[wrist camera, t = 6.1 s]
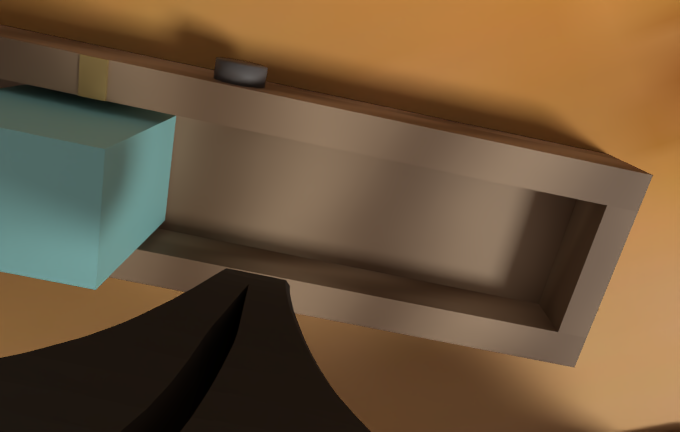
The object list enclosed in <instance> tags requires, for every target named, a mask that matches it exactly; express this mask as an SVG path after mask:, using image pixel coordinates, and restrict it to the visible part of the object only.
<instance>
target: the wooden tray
mask: <svg viewBox="0 0 680 432" xmlns="http://www.w3.org/2000/svg"><path fill="white" fill-rule="evenodd" d="M267 70H268V68H267V67H265V66H262V65H259V64H255V63H251V62H246V61H241V60H236V59H230V58H221V57H217V58H216V62H215V70H211V69H206V68H201V67H197V66H192V65H187V64H183V63H178V62H173V61H168V60H164V59H159V58H154V57H150V56H145V55H140V54H136V53H131V52H126V51H122V50H117V49H112V48H107V47H103V46H98V45H93V44H89V43H84V42H79V41H75V40H70V39H65V38H61V37H56V36H51V35H47V34H42V33H37V32H32V31H28V30H23V29H18V28H14V27H9V26H4V25H0V88H6V87H12V86H19V85H25V84H27V85H32V86H37V87H41V88H46V89H51V90H56V91H60V92H65V93H70V94H75V95H78V96H82V97H87V98H91V99H96V100H101V101H108V102H113V103H118V104H123V105H128V106H132V107H137V108H142V109H147V110H152V111H156V112H161V113H166V114H171V115H175V116H176V123H175V132H174V141H173V150H172V160H171V169H170V178H169V188H168V197H167V206H166V215H165V221H164V222H163V223H162V224H161V225H160V226H159V227H158V228H157V229H156V230H155V231H154V232H153V233H152V234H151V235H150V236H149V237H148V238H147V239H146V240H145V241H144V242H143V243H142V244H141V245H140V246H139V247H138V248H137V249H136V250H135V251H134V252H133V253H132V254H131V255H130V256H129V257H128V258H127V259H126V260H125V261H124V262H123V263H122V264H121V265H120V266H119V267H118V268H117V269H116V270H115V271H114V272H113V273H112V274H111V275H110V276H109V277H111V278H116V279H121V280H126V281H131V282H136V283H142V284H147V285H152V286H157V287H162V288H167V289H173V290H178V291H183V292H187V291H188V290H190V289H192V288H194V287H195V286H197V285H199V284H200V283H202V282H204V281H205V280H207V279H209V278H210V277H212V276H214V275H215V274H217V273H219V272H220V271H222V270H224V269H226V268H228V269H233V270H238V271H243V272H248V273H254V274H259V275H264V276H269V277H274V278H279V279H284V280H286V281H287V282H288V284H289V285H290V296H291V301H292V305H293V309H294V313H296V314H302V315H307V316H312V317H317V318H322V319H327V320H333V321H338V322H343V323H348V324H353V325H358V326H364V327H369V328H374V329H379V330H384V331H389V332H395V333H400V334H405V335H410V336H415V337H420V338H425V339H431V340H436V341H441V342H446V343H451V344H456V345H462V346H467V347H472V348H477V349H482V350H487V351H493V352H498V353H503V354H508V355H513V356H518V357H524V358H529V359H534V360H539V361H544V362H549V363H555V364H560V365H565V366H570V367H575V365H576V362H577V360H578V357H579V355H580V352H581V350H582V347H583V345H584V343H585V340H586V338H587V335H588V333H589V330H590V328H591V325H592V323H593V321H594V318H595V316H596V313H597V311H598V308H599V306H600V303H601V301H602V298H603V296H604V294H605V291H606V289H607V286H608V284H609V281H610V279H611V276H612V274H613V272H614V269H615V267H616V264H617V262H618V259H619V257H620V254H621V252H622V249H623V247H624V245H625V242H626V240H627V237H628V235H629V232H630V230H631V227H632V225H633V223H634V220H635V218H636V215H637V213H638V210H639V208H640V205H641V203H642V200H643V198H644V196H645V193H646V191H647V188H648V186H649V183H650V181H651V178H652V176H653V175H651V174H649V173H647V172H645V171H643V170H641V169H638V168H636V167H634V166H632V165H630V164H628V163H626V162H624V161H621V160H619V159H617V158H615V157H613V156H611V155H609V154H604V153H600V152H595V151H590V150H586V149H581V148H576V147H572V146H567V145H562V144H558V143H553V142H548V141H544V140H539V139H534V138H529V137H525V136H520V135H515V134H511V133H506V132H501V131H497V130H492V129H487V128H483V127H478V126H473V125H469V124H464V123H459V122H454V121H450V120H445V119H440V118H436V117H431V116H426V115H422V114H417V113H412V112H408V111H403V110H398V109H394V108H389V107H384V106H379V105H375V104H370V103H365V102H361V101H356V100H351V99H347V98H342V97H337V96H333V95H328V94H323V93H318V92H314V91H309V90H304V89H300V88H295V87H290V86H286V85H281V84H276V83H272V82H267V81H266V76H267Z"/></svg>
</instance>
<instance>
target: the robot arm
mask: <svg viewBox="0 0 680 432" xmlns="http://www.w3.org/2000/svg"><path fill="white" fill-rule="evenodd" d="M0 432H371V431H370V430H369V429H368V428H367V427H366V426H365V425H364V424H363V423H362V422H361V421H360V420H359V419H358V418H357V417H356V416H355V415H354V414H353V413H352V411H351V410H350V409H349V408H348V407H347V406H346V405H345V403H344V402H343V401H342V400H341V399H340V398H339V396H338V395H337V394H336V393H335V391H334V390H333V389H332V387H331V386H330V384H329V383H328V381H327V380H326V378H325V377H324V375H323V373H322V372H321V370H320V368H319V367H318V365H317V363H316V361H315V360H314V358H313V356H312V354H311V352H310V350H309V348H308V346H307V344H306V341H305V339H304V337H303V335H302V332H301V329H300V327H299V324H298V321H297V319H296V316H295V313H294V309H293V305H292V301H291V296H290V285H289V284H288V282H287V281H286V280H284V279H279V278H274V277H269V276H264V275H259V274H254V273H248V272H243V271H238V270H233V269H228V268H226V269H224V270H222V271H220V272H219V273H217V274H215V275H214V276H212V277H210V278H209V279H207V280H205V281H204V282H202V283H200V284H199V285H197V286H195V287H194V288H192V289H190V290H188V291H187V292H185V293H183V294H181V295H180V296H178V297H176V298H174V299H173V300H170V301H168V302H166V303H164V304H162V305H160V306H158V307H156V308H154V309H152V310H150V311H148V312H146V313H144V314H142V315H140V316H138V317H135V318H133V319H131V320H128V321H126V322H124V323H121V324H119V325H116V326H113V327H111V328H108V329H105V330H102V331H99V332H97V333H94V334H91V335H88V336H85V337H82V338H79V339H75V340H71V341H68V342H64V343H60V344H56V345H53V346H49V347H45V348H42V349H38V350H34V351H31V352H26V353H22V354H17V355H13V356H8V357H3V358H0Z"/></svg>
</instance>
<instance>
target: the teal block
mask: <svg viewBox="0 0 680 432" xmlns="http://www.w3.org/2000/svg"><path fill="white" fill-rule="evenodd" d="M175 123H176V116H175V115H171V114H166V113H161V112H156V111H152V110H147V109H142V108H137V107H132V106H128V105H123V104H118V103H113V102H108V101H101V100H96V99H91V98H87V97H82V96H78V95H75V94H70V93H65V92H60V91H56V90H51V89H46V88H41V87H37V86H32V85H27V84H25V85H19V86H12V87H6V88H0V271H1V272H6V273H11V274H16V275H21V276H26V277H32V278H37V279H42V280H47V281H52V282H58V283H63V284H68V285H73V286H78V287H84V288H89V289H94V290H96V289H97V288H98V287H99V286H100V285H101V284H102V283H103V282H104V281H105V280H106V279H107V278H108V277H109V276H110V275H111V274H112V273H113V272H114V271H115V270H116V269H117V268H118V267H119V266H120V265H121V264H122V263H123V262H124V261H125V260H126V259H127V258H128V257H129V256H130V255H131V254H132V253H133V252H134V251H135V250H136V249H137V248H138V247H139V246H140V245H141V244H142V243H143V242H144V241H145V240H146V239H147V238H148V237H149V236H150V235H151V234H152V233H153V232H154V231H155V230H156V229H157V228H158V227H159V226H160V225H161V224H162V223H163V222H164V221H165V215H166V206H167V197H168V188H169V178H170V169H171V160H172V150H173V141H174V132H175Z"/></svg>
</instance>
